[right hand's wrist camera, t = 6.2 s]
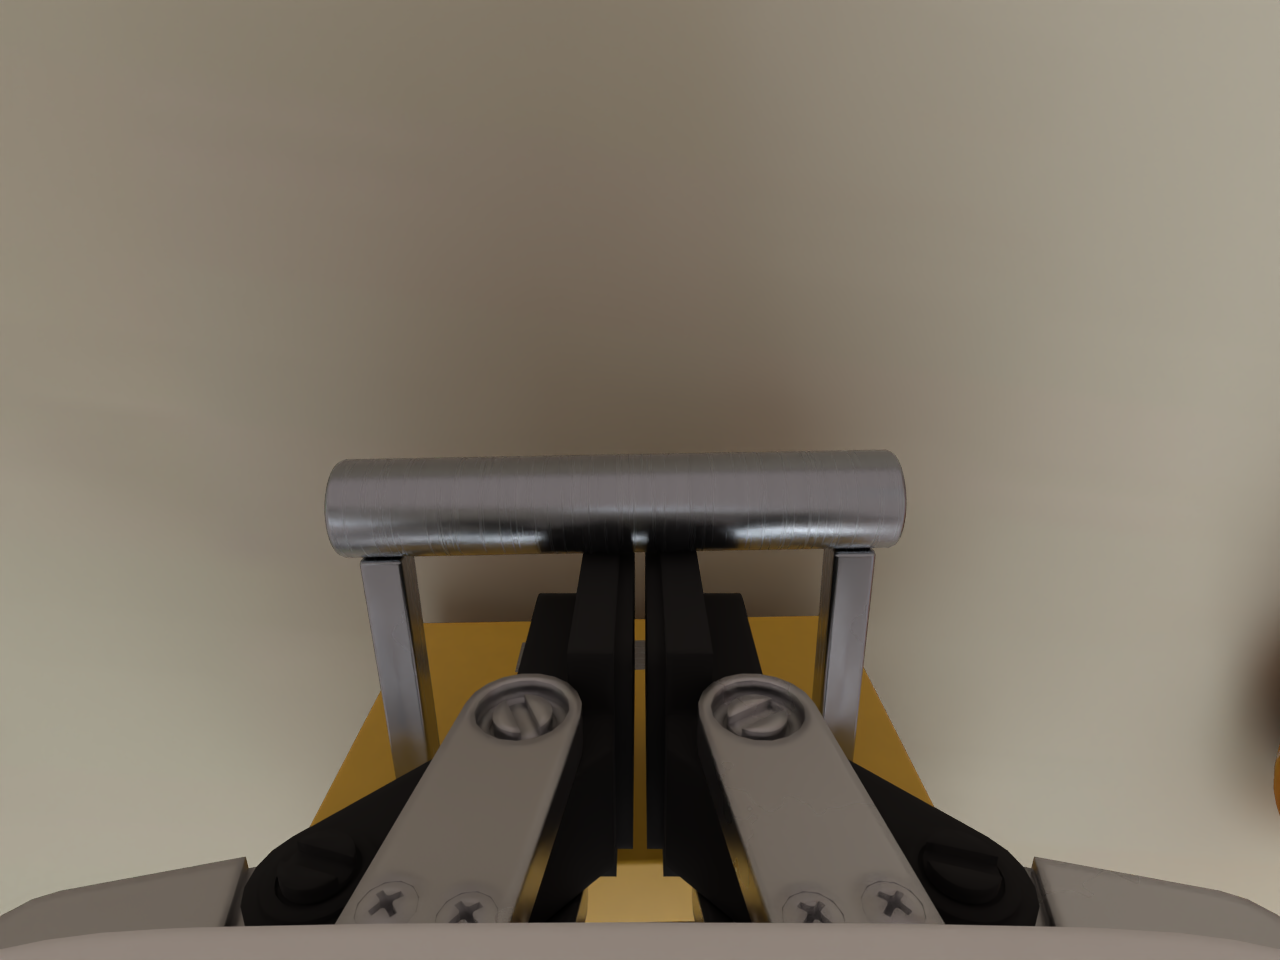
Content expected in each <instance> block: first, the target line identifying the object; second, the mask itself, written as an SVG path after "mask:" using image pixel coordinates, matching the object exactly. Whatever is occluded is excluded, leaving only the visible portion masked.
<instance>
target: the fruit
mask: <svg viewBox="0 0 1280 960" xmlns="http://www.w3.org/2000/svg"><path fill="white" fill-rule="evenodd" d="M1274 794H1275V800H1276V805H1277V808H1278V811H1279V814H1280V745H1279V749H1278V753H1277V758H1276V762H1275V767H1274Z"/></svg>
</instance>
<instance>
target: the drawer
mask: <svg viewBox="0 0 1280 960" xmlns="http://www.w3.org/2000/svg"><path fill="white" fill-rule="evenodd" d="M905 516H906V487H905V481H904V476H903V472H902V468H901V465H900V463H899V461H898V459H897V457H896V456H895V455H894V453H892V452H890V451H888V450H847V451H791V452H735V453H679V454H623V455H568V456H512V457H456V458H400V459H346V460H343V461H341V462H339V463H337V464H336V466H335V467H334V468H333V470H332V472H331V474H330V477H329V480H328V483H327V488H326V494H325V522H326V529H327V533H328V537H329V540H330V543H331V545H332V547H333V548H334V550H335V551H336V552H337V553H338V554H339V555H341V556H343V557H346V558H347V557H363V559H362V560H361V562H360V568H361V573H362V579H363V585H364V591H365V597H366V603H367V609H368V615H369V621H370V627H371V633H372V639H373V645H374V651H375V657H376V663H377V669H378V675H379V681H380V687H381V691H380V693H379V695H378V697H377V699H376V701H375V703H374V705H373V707H372V708H371V710H370V712H369V714H368V716H367V718H366V720H365V722H364V724H363V726H362V728H361V730H360V731H359V733H358V735H357V737H356V739H355V741H354V743H353V745H352V747H351V749H350V751H349V753H348V755H347V756H346V758H345V760H344V762H343V764H342V766H341V768H340V770H339V772H338V774H337V776H336V778H335V779H334V781H333V783H332V785H331V787H330V789H329V791H328V793H327V795H326V797H325V799H324V801H323V802H322V804H321V806H320V808H319V810H318V812H317V814H316V816H315V818H314V820H313V822H312V824H311V825H310V827H311V826H313V825H315V824H316V823H318V822H320V821H322V820H324V819H325V818H327V817H329V816H331V815H333V814H334V813H336V812H338V811H340V810H342V809H343V808H345V807H347V806H349V805H350V804H352V803H354V802H356V801H358V800H359V799H361V798H363V797H365V796H367V795H368V794H370V793H372V792H374V791H376V790H377V789H379V788H381V787H383V786H385V785H386V784H388V783H390V782H392V781H394V780H395V779H397V778H399V777H401V776H403V775H404V774H406V773H408V772H410V771H411V770H413V769H415V768H417V767H419V766H420V765H422V764H424V763H426V762H428V761H429V760H431V759H433V757H434V756H435V754H436V752H437V751H438V749H439V747H440V745H441V744H442V742H443V740H444V739H445V737H446V735H447V734H448V732H449V730H450V729H451V727H452V725H453V723H454V722H455V720H456V718H457V717H458V715H459V713H460V712H461V710H462V708H463V706H464V705H465V703H466V702H467V701H468V700H469V698H470V697H471V696H472V695H473V694H474V693H475V692H476V691H477V690H479V689H480V688H482V687H483V686H485V685H486V684H488V683H490V682H493V681H495V680H498V679H500V678H503V677H507V676H512V675H517V673H518V669H519V665H520V662H521V658H522V654H523V650H524V647H525V643H526V639H527V635H528V632H529V628H530V624H531V621H517V622H464V623H423V618H422V611H421V603H420V596H419V589H418V582H417V574H416V567H415V560H414V556H455V555H510V554H564V553H618V552H672V551H726V550H780V549H824V557H823V569H822V581H821V594H820V606H819V616H781V617H748V621H749V624H750V628H751V632H752V636H753V639H754V643H755V647H756V651H757V654H758V658H759V662H760V666H761V669H762V673H763V675H768V676H773V677H777V678H780V679H782V680H785V681H787V682H790V683H792V684H794V685H795V686H797V687H798V688H800V689H801V690H803V691H804V692H805V693H806V694H807V695H808V696H809V697H810V698H811V700H812V701H813V702H814V703H815V705H816V707H817V708H818V710H819V712H820V713H821V715H822V717H823V718H824V720H825V722H826V723H827V725H828V727H829V729H830V730H831V732H832V734H833V735H834V737H835V739H836V740H837V742H838V744H839V745H840V747H841V749H842V751H843V752H844V754H845V756H846V757H847V759H849V760H850V761H852V762H854V763H856V764H858V765H859V766H861V767H863V768H865V769H867V770H868V771H870V772H872V773H874V774H876V775H877V776H879V777H881V778H883V779H885V780H886V781H888V782H890V783H892V784H894V785H895V786H897V787H899V788H901V789H903V790H904V791H906V792H908V793H910V794H912V795H913V796H915V797H917V798H919V799H920V800H922V801H924V802H926V803H928V804H929V805H931V806H933V804H932V802H931V800H930V798H929V796H928V794H927V792H926V790H925V788H924V786H923V784H922V782H921V780H920V778H919V776H918V774H917V772H916V770H915V768H914V766H913V764H912V762H911V760H910V758H909V756H908V754H907V752H906V750H905V748H904V746H903V744H902V742H901V741H900V739H899V737H898V735H897V733H896V731H895V729H894V727H893V725H892V723H891V721H890V719H889V717H888V715H887V713H886V711H885V709H884V707H883V705H882V703H881V701H880V699H879V697H878V695H877V693H876V691H875V689H874V687H873V685H872V683H871V681H870V679H869V677H868V675H867V673H866V671H865V669H864V667H863V665H864V656H865V647H866V637H867V628H868V619H869V610H870V601H871V592H872V582H873V573H874V564H875V552H874V550H873V549H872V548H888V547H891V546H893V545H895V544H896V543H897V542H898V541H899V539H900V537H901V534H902V531H903V528H904V523H905ZM933 807H934V806H933ZM605 922H675V923H695V920H694V916H693V909H692V886H690V885H689V884H688V883H687V882H686V881H684V880H683V879H682V878H681V877H663V852H662V849H647V814H646V722H645V619H635V716H634V808H633V849H618V850H617V877H599V878H598V879H597V880H596V881H594V882H593V883H592V884H591V885H589V886H588V909H587V916H586V920H585V923H605Z"/></svg>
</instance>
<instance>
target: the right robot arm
mask: <svg viewBox="0 0 1280 960" xmlns="http://www.w3.org/2000/svg"><path fill="white" fill-rule="evenodd" d="M634 716H635V552H618V553H583V558H582V564H581V570H580V576H579V583H578V589H577V593H540V594H539V595H538V598H537V601H536V605H535V609H534V613H533V616H532V620H531V624H530V628H529V632H528V635H527V639H526V643H525V647H524V650H523V654H522V658H521V662H520V665H519V669H518V673H517V675H512V676H507V677H503V678H500V679H498V680H495V681H493V682H490V683H488V684H486V685H485V686H483V687H482V688H480V689H479V690H477V691H476V692H475V693H474V694H473V695H472V696H471V697H470V698H469V700H468V701H467V702H466V703H465V705H464V706H463V708H462V710H461V712H460V713H459V715H458V717H457V718H456V720H455V722H454V723H453V725H452V727H451V729H450V730H449V732H448V734H447V735H446V737H445V739H444V740H443V742H442V744H441V745H440V747H439V749H438V751H437V752H436V754H435V756H434V757H433V759H431V760H429V761H428V762H426V763H424V764H422V765H420V766H419V767H417V768H415V769H413V770H411V771H410V772H408V773H406V774H404V775H403V776H401V777H399V778H397V779H395V780H394V781H392V782H390V783H388V784H386V785H385V786H383V787H381V788H379V789H377V790H376V791H374V792H372V793H370V794H368V795H367V796H365V797H363V798H361V799H359V800H358V801H356V802H354V803H352V804H350V805H349V806H347V807H345V808H343V809H342V810H340V811H338V812H336V813H334V814H333V815H331V816H329V817H327V818H325V819H324V820H322V821H320V822H318V823H316V824H315V825H313V826H311V827H309V828H307V829H306V830H304V831H302V832H300V833H298V834H297V835H295V836H293V837H292V838H290V839H289V840H287V841H286V842H284V843H283V844H281V845H280V846H278V847H277V848H276V849H274V850H273V851H272V852H271V853H270V854H269V855H268V856H267V857H266V858H265V859H264V860H263V861H262V862H261V863H260V864H259V865H258V866H257V867H253V868H248V864H247V860H246V857H241V858H236V859H230V860H225V861H220V862H214V863H209V864H203V865H198V866H192V867H187V868H182V869H176V870H171V871H165V872H160V873H154V874H149V875H144V876H138V877H133V878H127V879H122V880H116V881H111V882H106V883H100V884H95V885H89V886H84V887H79V888H73V889H68V890H62V891H58V892H55V893H52V894H48V895H45V896H42V897H39V898H35V899H32V900H30V901H28V902H26V903H24V904H22V905H20V906H19V907H17V908H15V909H13V910H11V911H9V912H7V913H5V914H3V915H2V916H0V960H1280V916H1278V915H1277V914H1275V913H1273V912H1271V911H1269V910H1267V909H1265V908H1263V907H1261V906H1259V905H1258V904H1256V903H1254V902H1252V901H1250V900H1248V899H1245V898H1241V897H1238V896H1235V895H1232V894H1228V893H1225V892H1222V891H1218V890H1212V889H1207V888H1201V887H1196V886H1191V885H1185V884H1180V883H1174V882H1169V881H1163V880H1158V879H1153V878H1147V877H1142V876H1136V875H1131V874H1126V873H1120V872H1115V871H1109V870H1104V869H1098V868H1093V867H1088V866H1082V865H1077V864H1071V863H1066V862H1060V861H1055V860H1050V859H1044V858H1039V857H1034V860H1033V864H1032V868H1027V867H1023V866H1022V865H1021V864H1020V863H1019V862H1018V861H1017V860H1016V859H1015V858H1014V857H1013V856H1012V855H1011V854H1010V853H1009V852H1008V851H1007V850H1006V849H1004V848H1003V847H1002V846H1000V845H999V844H997V843H996V842H994V841H993V840H991V839H990V838H988V837H987V836H985V835H983V834H982V833H980V832H978V831H976V830H974V829H973V828H971V827H969V826H967V825H965V824H964V823H962V822H960V821H958V820H956V819H955V818H953V817H951V816H949V815H947V814H946V813H944V812H942V811H940V810H938V809H937V808H935V807H933V806H931V805H929V804H928V803H926V802H924V801H922V800H920V799H919V798H917V797H915V796H913V795H912V794H910V793H908V792H906V791H904V790H903V789H901V788H899V787H897V786H895V785H894V784H892V783H890V782H888V781H886V780H885V779H883V778H881V777H879V776H877V775H876V774H874V773H872V772H870V771H868V770H867V769H865V768H863V767H861V766H859V765H858V764H856V763H854V762H852V761H850V760H849V759H847V757H846V756H845V754H844V752H843V751H842V749H841V747H840V745H839V744H838V742H837V740H836V739H835V737H834V735H833V734H832V732H831V730H830V729H829V727H828V725H827V723H826V722H825V720H824V718H823V717H822V715H821V713H820V712H819V710H818V708H817V707H816V705H815V703H814V702H813V701H812V700H811V698H810V697H809V696H808V695H807V694H806V693H805V692H804V691H803V690H801V689H800V688H798V687H797V686H795V685H794V684H792V683H790V682H787V681H785V680H782V679H780V678H777V677H773V676H768V675H763V673H762V669H761V666H760V662H759V658H758V654H757V651H756V647H755V643H754V639H753V636H752V632H751V628H750V624H749V621H748V617H747V613H746V609H745V605H744V602H743V598H742V596H741V594H739V593H703V589H702V583H701V577H700V571H699V565H698V559H697V553H696V551H672V552H645V722H646V814H647V849H662V852H663V877H681V878H682V879H683V880H684V881H686V882H687V883H688V884H689V885H690V886H692V909H693V916H694V920H695V923H675V922H605V923H585V920H586V916H587V909H588V886H589V885H591V884H592V883H593V882H594V881H596V880H597V879H598V878H599V877H617V850H618V849H633V808H634Z"/></svg>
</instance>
